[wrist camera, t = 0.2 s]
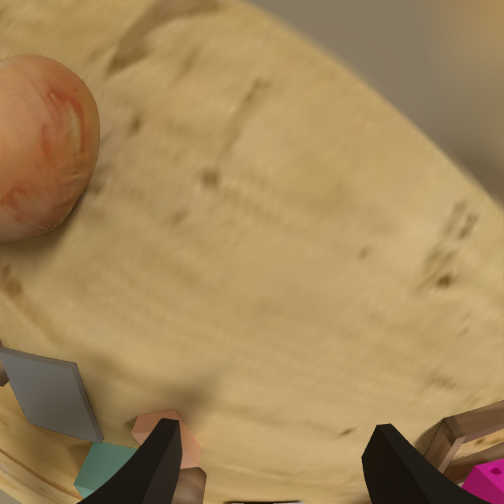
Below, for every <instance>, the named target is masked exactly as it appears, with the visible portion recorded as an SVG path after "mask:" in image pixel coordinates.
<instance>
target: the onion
mask: <svg viewBox="0 0 504 504" xmlns="http://www.w3.org/2000/svg"><path fill="white" fill-rule="evenodd" d="M99 143H100V124H99V114H98V109H97V105H96V102H95V100H94V98H93V96H92V94H91V92H90V90H89V89H88V87H87V86H86V84H85V83H84V82H83V81H82V80H81V79H80V78H79V77H78V76H77V75H76V74H75V73H74V72H72V71H71V70H70V69H68V68H67V67H65V66H64V65H62V64H61V63H59V62H57V61H55V60H53V59H50V58H47V57H44V56H40V55H33V54H23V55H16V56H12V57H8V58H5V59H3V60H0V242H14V241H19V240H22V239H26V238H35V237H38V236H40V235H43V234H46V233H49V232H51V231H53V230H55V229H56V228H57V227H59V226H60V225H61V223H62V222H63V221H64V219H65V218H66V217H67V216H68V214H69V213H70V212H71V210H72V208H73V207H74V205H75V204H76V202H77V200H78V199H79V197H80V196H81V194H82V193H83V191H84V189H85V188H86V186H87V184H88V182H89V180H90V178H91V176H92V173H93V171H94V168H95V165H96V162H97V158H98V153H99Z"/></svg>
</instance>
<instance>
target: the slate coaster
mask: <svg viewBox="0 0 504 504" xmlns="http://www.w3.org/2000/svg"><path fill="white" fill-rule="evenodd" d="M0 358H1V361H2V363H3V366H4V368H5V371H6V373H7V375H8V378H9V383H10V385H11V387H12V390H13V392H14V394H15V396H16V398H17V400H18V402H19V404H20V406H21V408H22V410H23V412H24V414H25V416H26V418H27V420H28V422H29V423H31V424H34V425H37V426H40V427H43V428H46V429H49V430H52V431H55V432H58V433H61V434H65V435H68V436H72V437H75V438H79V439H83V440H87V441H91V442H95V443H99V444H101V443H102V441H103V439H104V438H103V436H102V433H101V431H100V428H99V426H98V424H97V421H96V419H95V416H94V413H93V411H92V408H91V406H90V403H89V400H88V397H87V395H86V392H85V389H84V386H83V383H82V380H81V377H80V374H79V371H78V368H77V364H76V363H72V362H66V361H61V360H56V359H51V358H46V357H42V356H37V355H33V354H28V353H24V352H20V351H16V350H12V349H8V348H4V347H2V348H1V349H0Z"/></svg>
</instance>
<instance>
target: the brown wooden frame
mask: <svg viewBox="0 0 504 504" xmlns="http://www.w3.org/2000/svg"><path fill="white" fill-rule="evenodd" d="M1 348H2V344H1V341H0V349H1ZM8 381H9V378H8V375H7V373H6V371H5V368H4V366H3V363H2V361H1V358H0V386H2V387H3V386H4V385H5V384H6V383H7V382H8Z"/></svg>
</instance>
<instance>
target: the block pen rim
mask: <svg viewBox="0 0 504 504" xmlns="http://www.w3.org/2000/svg"><path fill="white" fill-rule="evenodd" d="M501 429H504V400H503V401H500V402H497V403H494V404H491V405H488V406H485V407H482V408H479V409H476V410H472V411H469V412H466V413H462V414H458V415H455V416H451V417H447V418H444V420H443V422H442V424H441V426H440V428H439V430H438V432H437V434H436V435H435V437H434V439H433V441H432V443H431V445H430V447H429V448H428V450H427V452H426V454H425V456H424V458H425V459H426V460H427V461H428V462H429V463H431V464H432V465H433V466H434V467H435V468H436V469H437V470H439V471H440V472H441V473H442V474H443V475H445V476H446V477H447V478H448V479H450V480H451V481H453V482H454V483H456V484H459V483H462V482H465V480H466V479H467V477H468V476H469V474H470V472H471V471H472V469H473V468H474V466H476V465H481V464H485V463H489V462H492V461H496V460H500V459H503V458H504V442H502V443H500V444H498V445H496V446H493V447H491V448H488V449H486V450H483V451H481V452H478V453H476V454H473V455H470V456H468V457H465V458H462V459H459V460H456V461H453V462H451V460H452V459H453V457H454V455H455V454H456V452H457V451H458V449H459V447H460V446H461V444H463V443H466V442H469V441H472V440H475V439H478V438H481V437H483V436H486V435H489V434H491V433H494V432H496V431H499V430H501Z"/></svg>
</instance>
